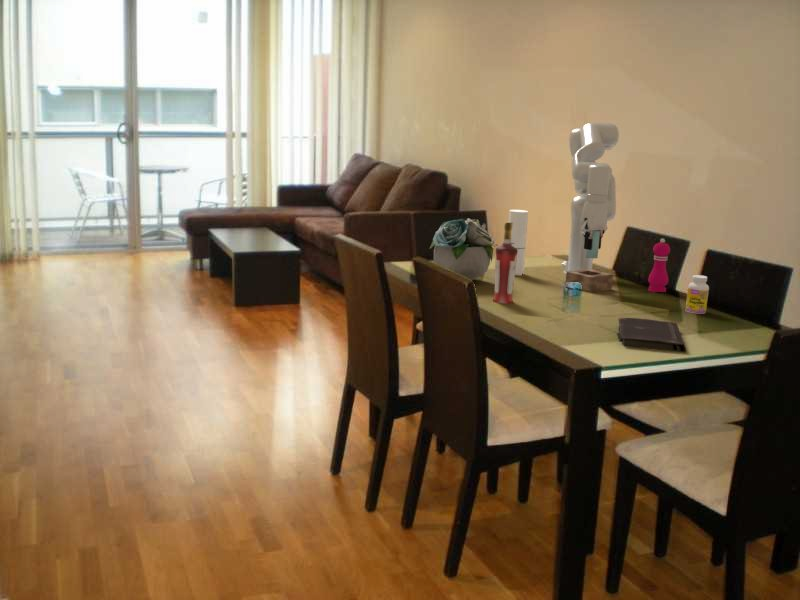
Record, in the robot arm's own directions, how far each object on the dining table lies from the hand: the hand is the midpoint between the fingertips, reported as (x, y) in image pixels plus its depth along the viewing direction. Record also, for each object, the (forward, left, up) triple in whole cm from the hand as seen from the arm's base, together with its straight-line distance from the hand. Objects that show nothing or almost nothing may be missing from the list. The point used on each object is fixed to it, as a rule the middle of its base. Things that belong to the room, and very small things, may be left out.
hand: (592, 248), depth 335 cm
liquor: (+2, -47, -16) cm, 49 cm away
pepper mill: (+16, +20, -16) cm, 30 cm away
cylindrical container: (-33, -5, -16) cm, 37 cm away
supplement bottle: (+44, +2, -16) cm, 47 cm away
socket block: (0, 0, -15) cm, 15 cm away
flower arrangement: (-31, -36, -16) cm, 50 cm away
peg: (0, 0, -3) cm, 3 cm away
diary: (+58, -44, -16) cm, 75 cm away
